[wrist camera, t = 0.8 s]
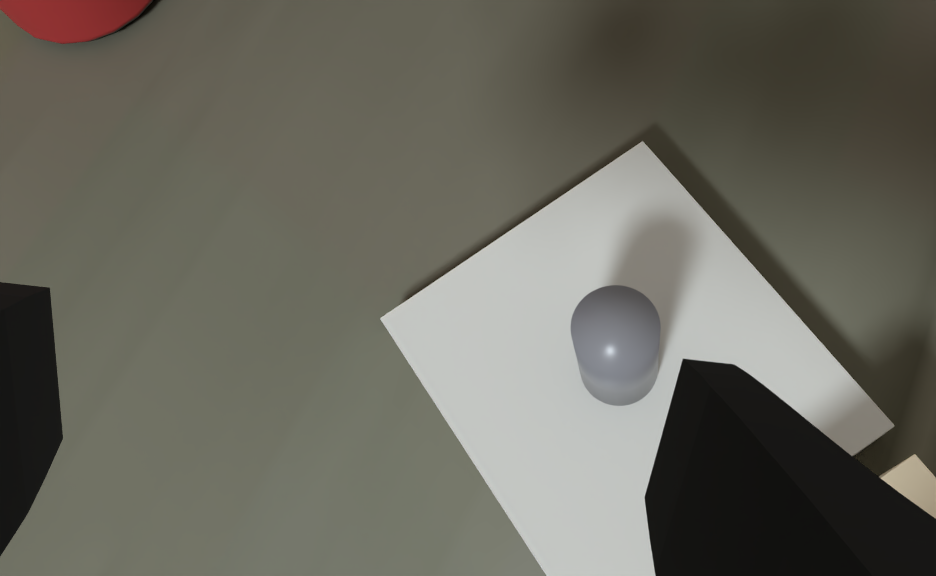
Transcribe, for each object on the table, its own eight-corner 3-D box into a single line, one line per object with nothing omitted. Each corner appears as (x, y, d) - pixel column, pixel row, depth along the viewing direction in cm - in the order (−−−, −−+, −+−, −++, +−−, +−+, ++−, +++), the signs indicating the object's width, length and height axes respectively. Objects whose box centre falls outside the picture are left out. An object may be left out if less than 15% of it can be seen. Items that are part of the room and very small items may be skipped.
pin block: (882, 435, 23) (939, 390, 18) (592, 641, 22) (580, 644, 18) (642, 161, 27) (643, 70, 22) (390, 331, 26) (341, 272, 22)
